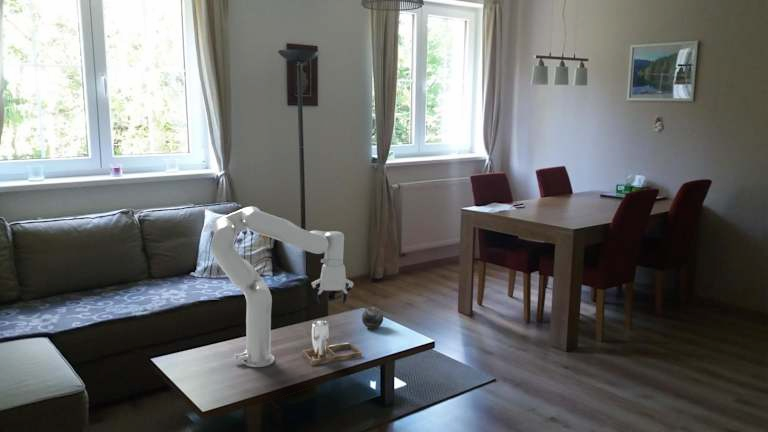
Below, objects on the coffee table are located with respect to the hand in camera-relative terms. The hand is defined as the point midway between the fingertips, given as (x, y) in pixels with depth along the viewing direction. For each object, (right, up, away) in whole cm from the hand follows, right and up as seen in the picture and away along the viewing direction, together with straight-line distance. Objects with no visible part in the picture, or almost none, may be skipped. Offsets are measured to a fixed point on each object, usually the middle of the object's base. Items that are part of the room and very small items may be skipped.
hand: (331, 302), depth 254 cm
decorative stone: (+16, -17, +36) cm, 43 cm away
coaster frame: (0, -23, +2) cm, 23 cm away
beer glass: (-5, -23, 0) cm, 24 cm away
